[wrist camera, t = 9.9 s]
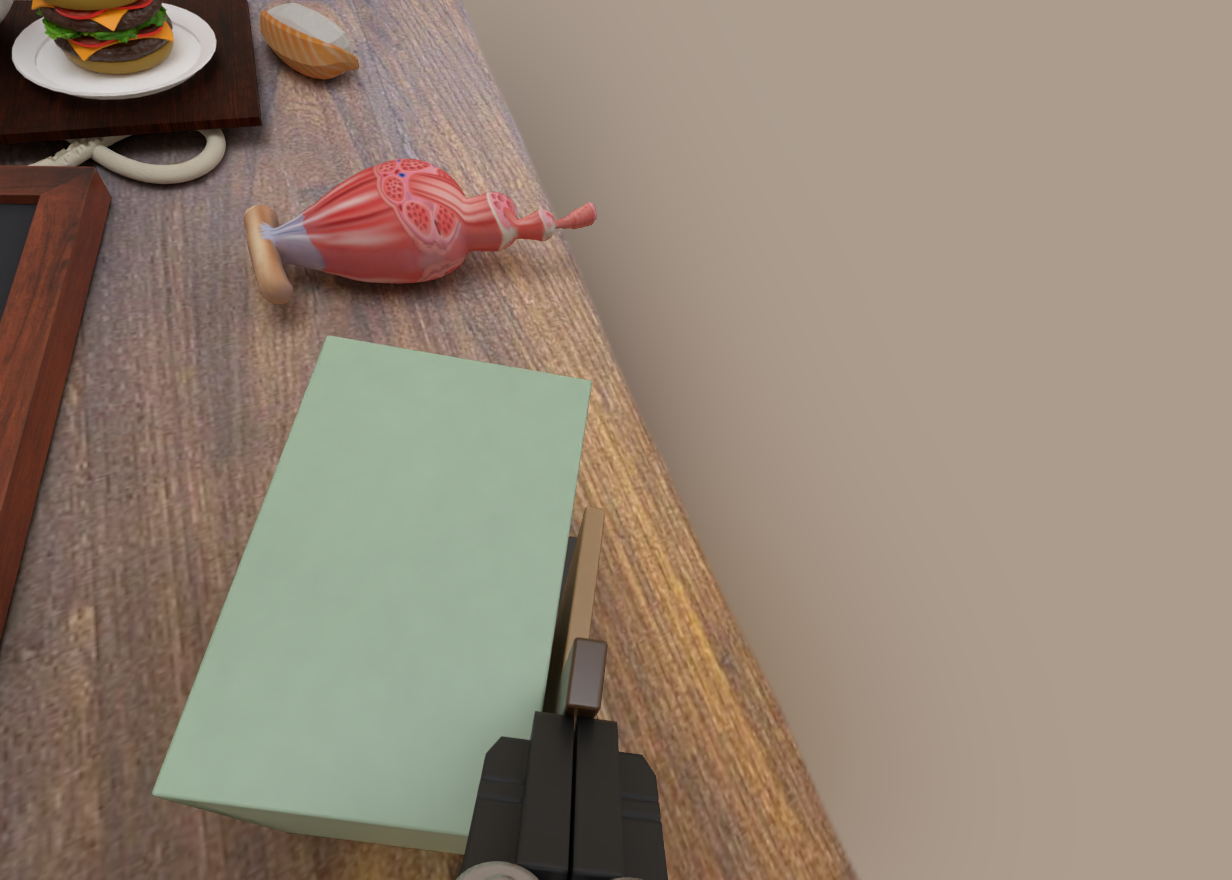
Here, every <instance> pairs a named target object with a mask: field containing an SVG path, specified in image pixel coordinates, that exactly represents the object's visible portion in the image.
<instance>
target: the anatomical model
mask: <svg viewBox="0 0 1232 880" xmlns="http://www.w3.org/2000/svg"><path fill="white" fill-rule="evenodd" d="M596 218H597V214H596V208H595V206H594V205H593V204H592V203H586V204H584V205H583V206H582V207H581V208H578V209H576V210H574V211H573V212H571V213H570V214H569V215H568V216H567V217H564V218H561V219H559V220H554V218H553V216H552V214H551V213H550V212H548V211H546V210H542V209H541V210H537V211H535V212H534V213H532V214H530V215H529V216H527V217H525V218H521V219H518V218H517V212H516V208H515V205H514V203H513V202H512V200H511V199H510V198H509V197H508V196H506V195H504V194H502V193H498V192H488V193H485V194H482V195H478V196H474V197H471V198H466V197H465V195H464V193H463V191H462V190H461V188H460V187H459V185H458V184H457V183H456V181H455V180H454V179H453V178H452V177H451V176H449V175H448V174H447V173H446V172H445V171H443V170H442V169H440V168H438V167H437V166H435V165H433V164H430V163H428V162H425V161H421V160H416V159H397V160H392V161H388V162H385V163H382V164H379V165H376V166H373V167H370V168H368V169H365V170H363V171H361V172H359V173H357V174H355V175H354V176H352V177H350V178H349V179H347V180H345V181H344V182H342V183H341V184H339V185H338V186H336V187H335V188H333V189H332V190H331V191H330V192H328V193H327V194H326V195H324V196H323V197H322V198H321V199H319V200H318V201H317V202H316V203H315V204H313V205H312V206H310V207H308V208H307V209H305V210H304V211H303V212H301V213H300V214H299V215H298V216H297V217H295V218H294V219H292V220H290V221H288V222H287V223H285V224H283V225H281V226H279V222H278V217H277V215H276V213H275V212H274V211H273V210H272V209H271V208H270V207H268V206H264V205H256V206H252V207H250V208H248V209H247V210H246V211H245V213H244V224H245V228H246V233H247V244H248V248H249V252H250V255H251V258H252V263H253V267H254V271H255V274H256V279H257V283H258V286H259V289H260V293H261V294H262V295H263V296H264V297H265V298H266V300H267V301H269V302H271V303H274V304H284V303H286V302H287V301H288V300H289V299H290V298H291V296H292V293H293V286H292V285H291V284H290V283H289V281H288V278H287V276H286V274H285V271H284V269H283V264H284V263H289V264H294V265H297V266H301V267H305V268H309V269H314V270H319V271H323V272H326V273H330V274H334V275H338V276H342V277H345V278H349V279H353V280H357V281H363V282H371V283H416V282H425V281H430V280H434V279H437V278H440V277H443V276H445V275H447V274H449V273H451V272H452V271H454V270H455V269H457V268H458V267H459V266H460V265H461V264H462V262H463V261H464V260H465V258H466V256H467V255H468V253H470V252H472V251H500V250H503V249H505V248H507V247H509V246H510V245H511V244H512V243H513V242H514V241H515V240H516V239H531V240H538V241H546V240H548V239H549V238H551V237H552V235H553V233H554V230H555V229H556V228H563V229H566V228H572V229H577V228H582V227H585V226H589V225H592V224H593V223H594V221H595V220H596Z"/></svg>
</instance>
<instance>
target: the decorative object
mask: <svg viewBox="0 0 1232 880" xmlns="http://www.w3.org/2000/svg"><path fill="white" fill-rule="evenodd" d="M197 131H199V132H201V133H202V134H203V135H204V136H205V138H206V140H207V143H206V147H205V148H204V150H203V151H202V152H201V153H200V154H199V155H198V156H196V157H195V158H193V159H191V160H188V161H186V162H183V163H179V164H173V165H153V164H146V163H141V162H138V161H135V160H132V159H129V158H126V157H124V156H122V155H120V154H117V153H115V152H114V151H112V150H110V149H108V148H107V147H108V146H110V145H112V144H114V143H115V142H117V141H120V140H122V139H124V138H126V137H129V136H131V135H124V136H111V137H97V138H83V139H69V140H66V141H68V142H69V143H71V145H69V147H68V149H66V150H65V149H63V150H61V151H59V152H58V153H56V154H55V156H54V157H52V156H50V157H48V158H46V159H44V160H41V161H39V162H36V163H34V164H31V165H27V166H78V165H80V164H81V163H83V162H84V161H86V160H88V159H89V158H92V159H93V160H94V161H96V162H97V163H99V164H100V165H102V166H104V167H106V168H107V169H109V170H111V171H113V172H115V173H118V174H120V175H122V176H125V177H128V178H131V179H135V180H138V181H143V182H148V183H156V184H173V183H181V182H186V181H190V180H193V179H196V178H198V177H201V176H203V175H205V174H207V173H208V172H210V171H211V170H212V169H214V168H215V167H216V166H217V165H218V164H219V162H220V161H221V160H222V158H223V156H224V153H225V149H226V142H225V137H224V135H223V132H222V131H221V129H207V130H197Z"/></svg>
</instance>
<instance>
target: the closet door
mask: <svg viewBox="0 0 1232 880" xmlns="http://www.w3.org/2000/svg"><path fill="white" fill-rule="evenodd" d="M604 518H605V510H604V509H600V508H594V507H586V508H585V511H584V515H583V519H582V523H581V527H580V531H579V535H578V538H577V542H576V546H575V550H574V554H573V558H572V562H571V566H570V570H569V574H568V577H567V581H566V585H565V589H564V593H563V597H562V601H561V605H560V609H559V612H558V616H557V620H556V624H555V631H554V638H553V644H552V651H551V657H550V664H549V671H548V677H547V684H546V691H545V697H544V704H543V710H542V712H547V713H554V714H562V715H569V716H574V728H575V723H576V719H577V717H585V718H592V719H594V717H595V716H596V714H597V713H598V711H599V709H600V707H601V699H602V690H603V681H604V672H605V663H606V655H607V642H605V641H601V640H594V639H589V636H590V629H591V621H592V613H593V605H594V597H595V589H596V581H597V573H598V565H599V558H600V550H601V542H602V534H603V526H604Z"/></svg>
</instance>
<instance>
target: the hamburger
mask: <svg viewBox="0 0 1232 880" xmlns="http://www.w3.org/2000/svg"><path fill="white" fill-rule="evenodd" d="M249 126H262V121H261V113H260V104H259V95H258V87H257V78H256V69H255V61H254V52H253V44H252V35H251V26H250V18H249V9H248V2H247V0H33V1H14V2H13V4H12V6H11V8H10V10H9V12H8V13H7V15H6V16H5V18H4V19H3V21H2V22H1V23H0V144H14V143H27V142H41V141H55V140H69V139H83V138H97V137H111V136H124V135H138V134H152V133H166V132H180V131H194V130H207V129H221V128H235V127H249Z"/></svg>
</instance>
